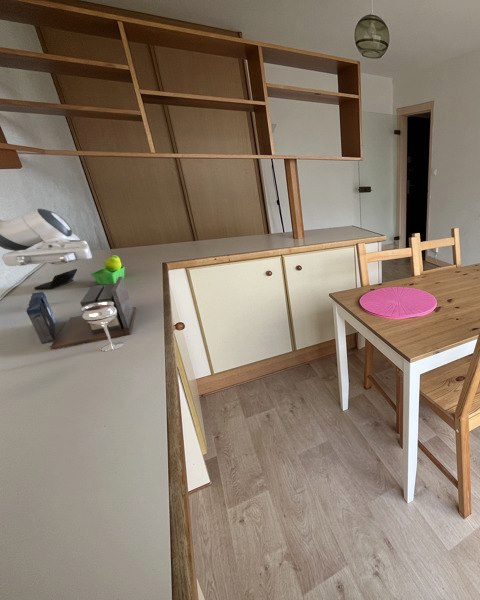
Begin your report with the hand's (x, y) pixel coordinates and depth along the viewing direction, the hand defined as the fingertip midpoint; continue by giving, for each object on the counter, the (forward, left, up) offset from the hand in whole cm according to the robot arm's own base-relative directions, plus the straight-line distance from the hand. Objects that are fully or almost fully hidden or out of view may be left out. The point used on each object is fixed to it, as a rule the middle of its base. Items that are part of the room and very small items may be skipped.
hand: (42, 261), depth 99 cm
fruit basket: (+9, +34, -18) cm, 39 cm away
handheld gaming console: (-9, +39, -18) cm, 43 cm away
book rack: (+12, -20, -18) cm, 29 cm away
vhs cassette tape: (0, -16, -18) cm, 24 cm away
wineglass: (+16, -37, -18) cm, 45 cm away
